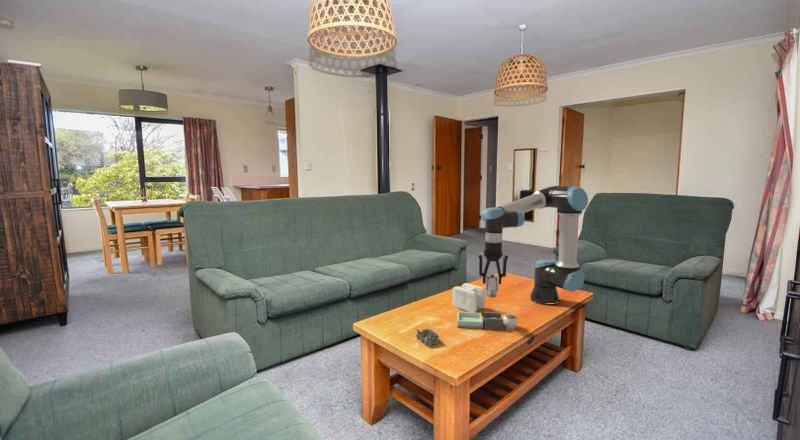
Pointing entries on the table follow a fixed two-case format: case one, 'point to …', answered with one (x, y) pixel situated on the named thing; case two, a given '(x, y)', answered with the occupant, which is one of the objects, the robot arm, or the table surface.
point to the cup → (509, 321)
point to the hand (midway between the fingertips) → (491, 290)
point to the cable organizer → (469, 297)
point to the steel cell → (491, 286)
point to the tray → (469, 320)
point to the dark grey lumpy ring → (428, 337)
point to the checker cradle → (493, 320)
